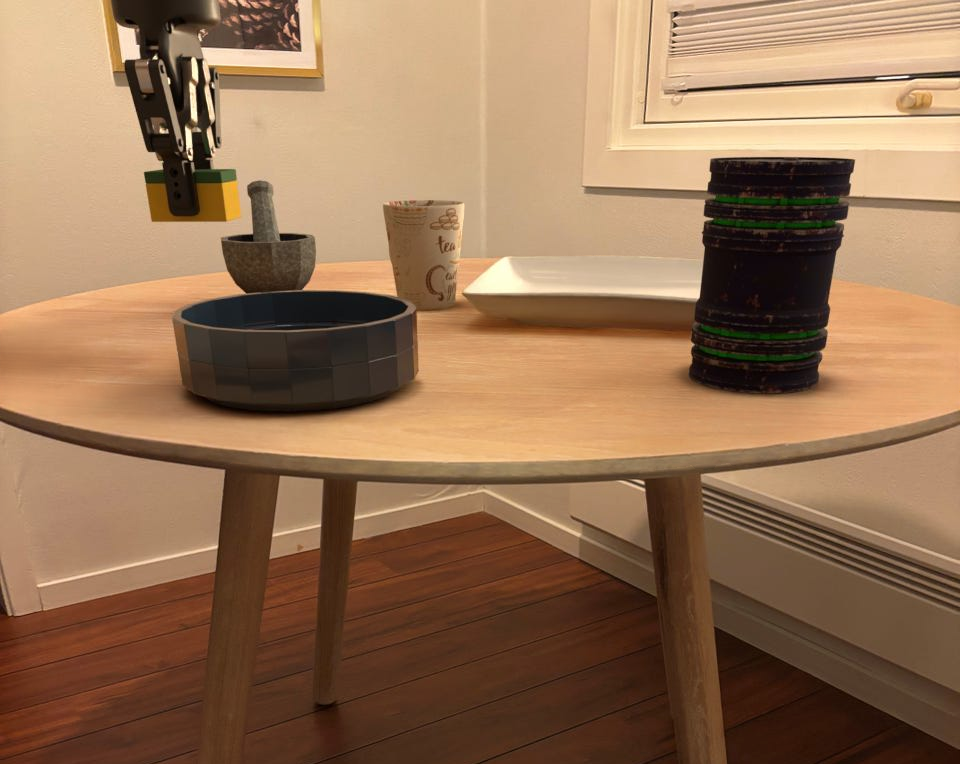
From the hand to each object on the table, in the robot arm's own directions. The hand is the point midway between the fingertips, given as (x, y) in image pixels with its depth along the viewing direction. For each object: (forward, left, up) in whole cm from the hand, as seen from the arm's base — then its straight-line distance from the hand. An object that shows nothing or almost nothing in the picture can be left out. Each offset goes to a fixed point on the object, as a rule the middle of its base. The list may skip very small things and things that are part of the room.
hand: (195, 212), depth 75 cm
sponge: (0, 0, -1) cm, 1 cm away
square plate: (+35, +23, -11) cm, 43 cm away
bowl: (+10, -10, -11) cm, 18 cm away
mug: (+14, +27, -11) cm, 32 cm away
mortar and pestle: (-1, +24, -11) cm, 27 cm away
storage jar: (+44, -6, -11) cm, 46 cm away
